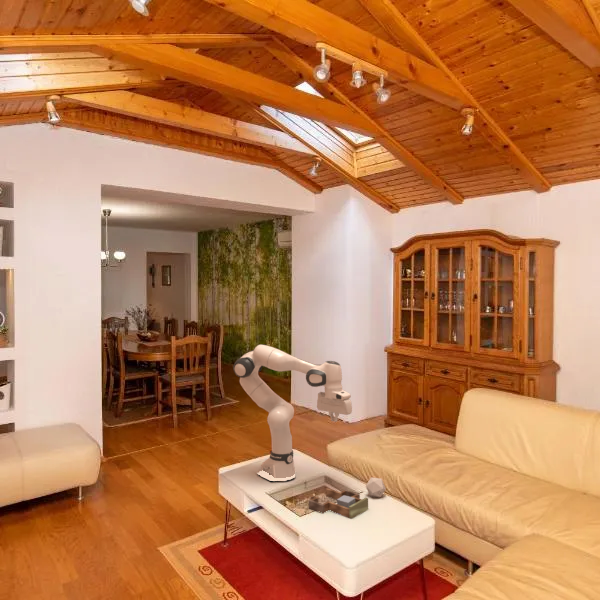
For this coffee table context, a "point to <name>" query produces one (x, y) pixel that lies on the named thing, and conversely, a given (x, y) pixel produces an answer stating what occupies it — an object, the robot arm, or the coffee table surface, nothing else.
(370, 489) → the die
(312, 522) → the coffee table surface
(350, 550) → the coffee table surface
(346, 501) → the block
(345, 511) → the box
